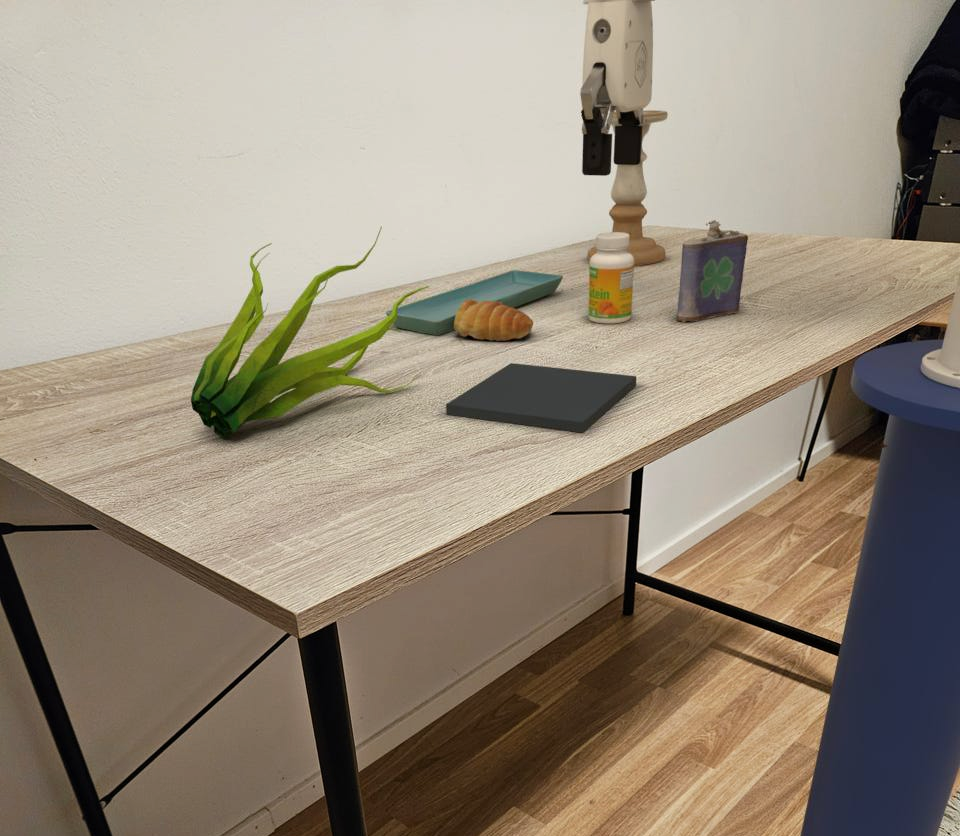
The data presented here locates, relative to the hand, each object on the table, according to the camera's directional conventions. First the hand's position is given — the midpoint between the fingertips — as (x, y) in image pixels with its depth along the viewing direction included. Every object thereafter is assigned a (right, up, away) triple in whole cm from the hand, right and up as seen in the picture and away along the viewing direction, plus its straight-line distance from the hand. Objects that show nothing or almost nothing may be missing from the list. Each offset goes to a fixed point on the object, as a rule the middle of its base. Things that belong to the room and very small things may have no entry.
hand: (612, 169), depth 103 cm
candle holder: (+8, +7, +40) cm, 41 cm away
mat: (-9, -31, -16) cm, 36 cm away
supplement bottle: (+1, -14, +9) cm, 17 cm away
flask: (+13, -14, +8) cm, 21 cm away
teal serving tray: (-15, -11, +16) cm, 24 cm away
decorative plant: (-32, -29, -10) cm, 44 cm away
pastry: (-14, -17, +6) cm, 23 cm away
